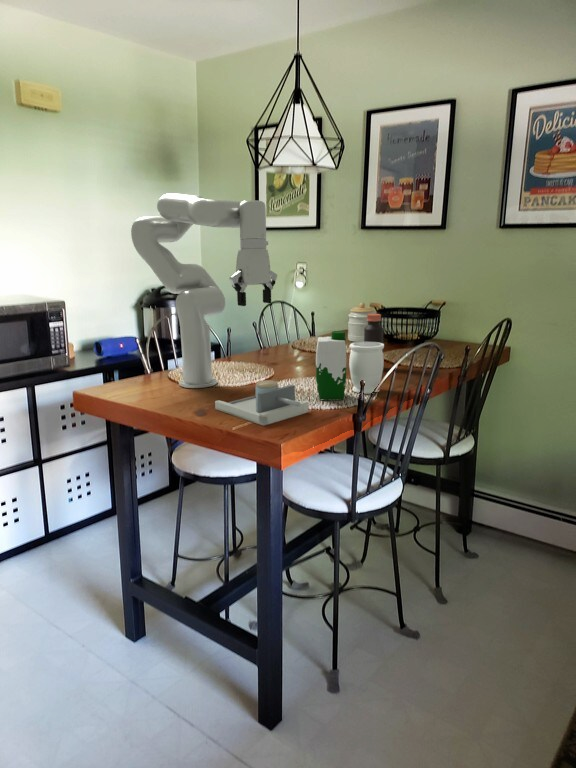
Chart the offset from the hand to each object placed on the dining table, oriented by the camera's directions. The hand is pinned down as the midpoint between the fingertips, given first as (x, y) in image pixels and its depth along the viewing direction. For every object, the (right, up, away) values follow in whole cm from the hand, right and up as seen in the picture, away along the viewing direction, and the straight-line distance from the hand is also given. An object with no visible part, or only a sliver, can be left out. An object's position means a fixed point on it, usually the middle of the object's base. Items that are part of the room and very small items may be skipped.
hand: (254, 304), depth 169 cm
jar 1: (+45, -3, +99) cm, 109 cm away
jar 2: (+34, -26, +10) cm, 44 cm away
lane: (+2, -31, -9) cm, 32 cm away
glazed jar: (+4, -31, -11) cm, 33 cm away
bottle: (+41, -18, +40) cm, 60 cm away
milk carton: (+23, -28, +4) cm, 36 cm away
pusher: (+10, -32, -17) cm, 38 cm away
